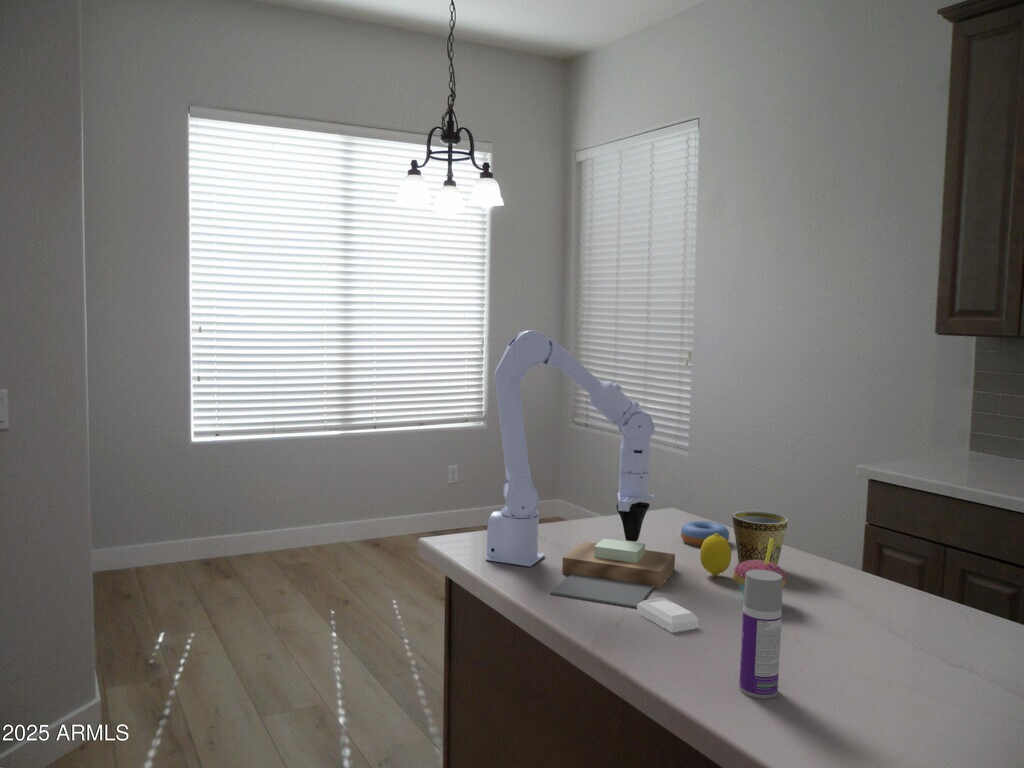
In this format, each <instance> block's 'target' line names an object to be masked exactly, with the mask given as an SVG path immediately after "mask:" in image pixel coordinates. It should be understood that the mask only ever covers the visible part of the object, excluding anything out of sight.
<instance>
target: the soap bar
mask: <svg viewBox="0 0 1024 768" xmlns="http://www.w3.org/2000/svg"><path fill="white" fill-rule="evenodd" d="M638 613H639V614H640V615H639V614H638ZM636 614H638V615H639V616H641V615H642V617H643V616H644V617H643V618H644V619H646V618H647V619H646V620H648V619H649V620H648V621H650V620H651V621H650V622H652V621H653V622H655V623H656V625H657V624H659V625H660V626H661V627H660V626H659V625H658V626H659V627H660V628H662V627H663V628H662V629H664V628H665V629H667V630H668V631H667V630H666V631H667V632H669V631H670V632H669V633H671V632H672V633H671V634H674V633H673V632H675V633H680V632H685V630H686V631H691V630H696V629H695V628H697V629H699V618H698V617H697V616H696V615H695V614H694V612H692V611H691V610H688V609H686V608H685V607H682V606H680V605H678V604H677V603H674V602H673V601H671V600H669V599H667V598H665V597H663V596H662V597H655V598H652V599H651V598H650V599H644V600H643V601H642V602H640V603H639V604H637V608H636ZM653 622H652V623H653ZM655 623H654V624H655ZM665 629H664V630H665ZM690 629H691V630H690ZM679 631H680V632H679Z"/></svg>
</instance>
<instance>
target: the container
mask: <svg viewBox="0 0 1024 768" xmlns="http://www.w3.org/2000/svg"><path fill="white" fill-rule="evenodd" d="M782 607H783V587H782V576H781V575H780V574H778V573H776V572H773V571H768V570H749V571H747V572H746V576H745V589H744V598H743V604H742V621H741V623H742V624H741V638H740V639H741V640H740V641H741V643H740V644H741V645H740V661H739V662H740V664H739V690H740V691H741V693H743V694H744V695H746V696H748V697H751V698H755V699H763V700H764V699H766V700H767V699H773V698H775V697H776V696H778V689H779V675H780V674H779V671H780V653H781V652H780V651H781V634H782V616H783V615H782V611H783V609H782Z"/></svg>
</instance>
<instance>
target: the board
mask: <svg viewBox="0 0 1024 768" xmlns="http://www.w3.org/2000/svg"><path fill="white" fill-rule="evenodd" d="M597 544H598V542H589V541H582V542H581V543H580V544H578V545H577V546H576V547H574V548H573V549H572V550H570V551H569V552H568V553H566V554H565V555H564V556H562V568H561V569H562V571H561V573H562V575H569V576H570V575H571V574H577V575H583V576H590V577H596V578H603V579H609V580H616V581H623V582H629V583H636V584H642V585H649V586H654V587H660V586H661V585H662V584H663V583H664V584H665V582H666V581H667V580H668V579H669V577H670V576H671V575H672V574H673V572H674V571H675V569H676V567H675V564H676V554H675V553H670V552H664V551H663V552H662V551H655V550H648V549H645V555H644V556H643V557H642V558H641V559H640V560H639V561H638V562H637V563H633V562H626V561H619V560H612V559H605V558H598V557H594V546H595V545H597ZM673 570H674V571H673ZM670 574H671V575H670ZM669 575H670V576H669ZM668 576H669V577H668ZM667 578H668V579H667ZM666 579H667V580H666ZM665 580H666V581H665ZM664 581H665V582H664ZM664 584H663V585H664ZM663 585H662V586H663ZM662 586H661V587H662ZM661 587H660V588H661Z"/></svg>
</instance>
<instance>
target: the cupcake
mask: <svg viewBox="0 0 1024 768" xmlns="http://www.w3.org/2000/svg"><path fill="white" fill-rule="evenodd" d="M773 536H774V535H772V538H770V539H769V544H768V549H767V554H766V559H765V561H762V560H755V559H754V560H746V561H744V562H742V563H740V564H739V563H737V565H736V567H735V568H734V569H733V570H734V571H733V574H732V579H733V580H734V582H736V583H737V584H739V587H740V591H741V593H742V596H743V597H742V598H743V599H744V589H745V576H746V572H747V571H749V570H768V571H773V572H776V573H778V574H780V575H781V576H782V588H784V587H786V584H787V581H788V575H787V574H786V572H785V571H784V570H783V568H782V567H780V566H779V565H776V564H775V563H772V562H771V561H769V560H770V555H771V550H772V546H773V541H774V539H773Z"/></svg>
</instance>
